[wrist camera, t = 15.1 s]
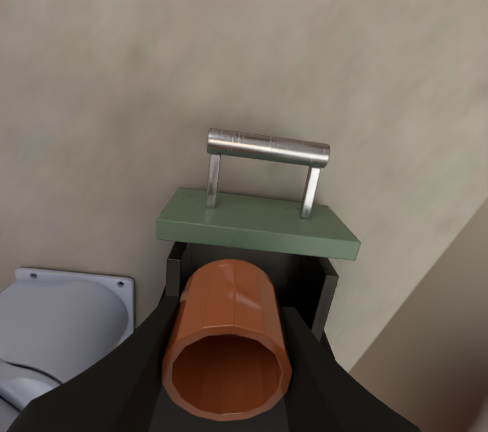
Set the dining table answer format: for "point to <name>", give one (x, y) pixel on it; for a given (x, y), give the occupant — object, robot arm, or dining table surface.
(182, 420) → the drawer cabinet
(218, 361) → the cup
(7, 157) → the dining table surface
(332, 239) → the green drawer
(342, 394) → the robot arm
